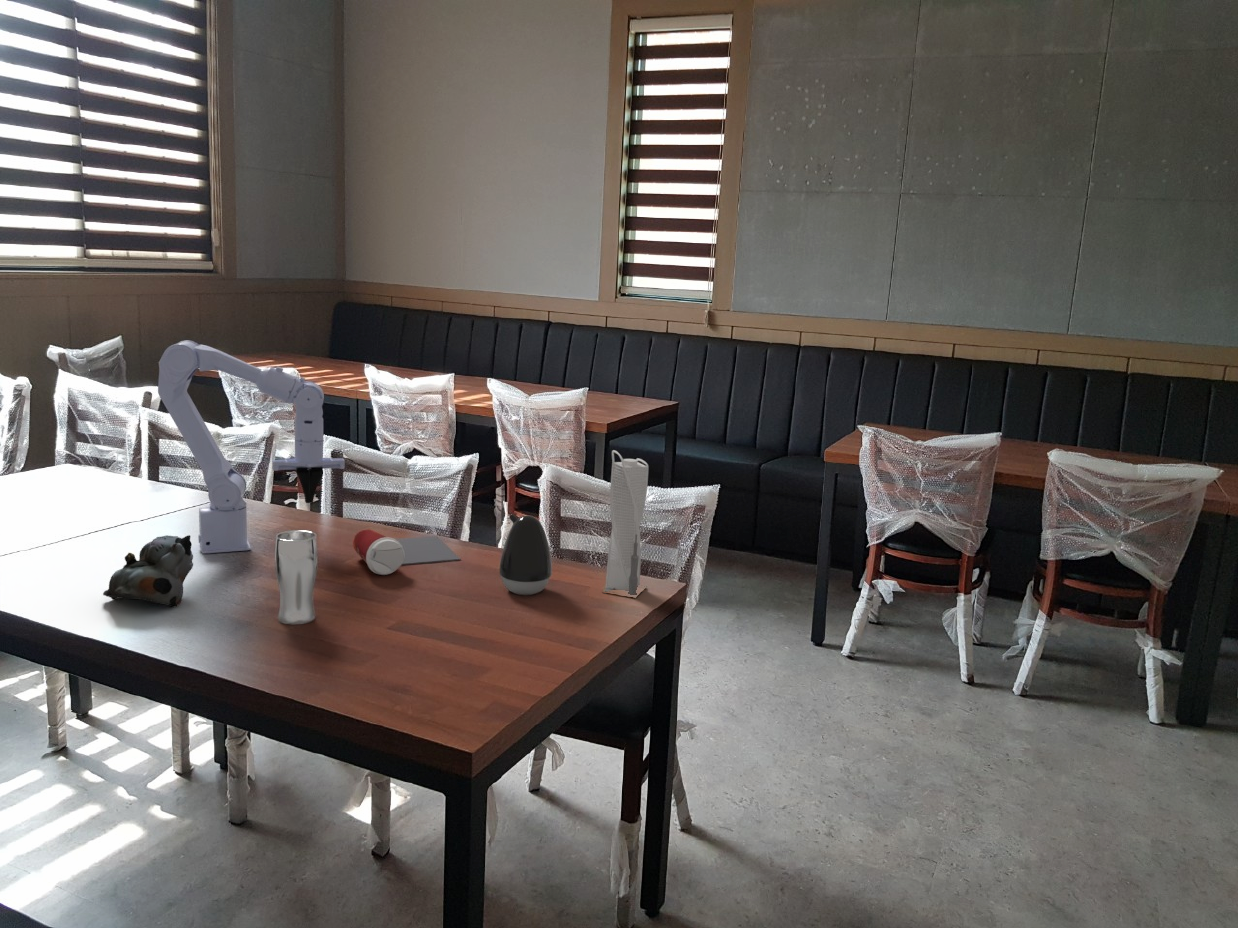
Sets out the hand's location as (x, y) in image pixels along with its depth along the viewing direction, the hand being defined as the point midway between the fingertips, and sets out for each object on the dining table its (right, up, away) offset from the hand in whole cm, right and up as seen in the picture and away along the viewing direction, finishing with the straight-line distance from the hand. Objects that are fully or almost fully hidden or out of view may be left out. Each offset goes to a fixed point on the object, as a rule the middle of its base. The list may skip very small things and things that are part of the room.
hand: (308, 501), depth 203 cm
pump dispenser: (+48, -17, -18) cm, 54 cm away
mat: (+21, -11, +2) cm, 24 cm away
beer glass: (+11, -19, -39) cm, 45 cm away
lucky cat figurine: (-17, -16, -35) cm, 42 cm away
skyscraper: (+67, -17, -13) cm, 71 cm away
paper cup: (+13, -8, -4) cm, 16 cm away
